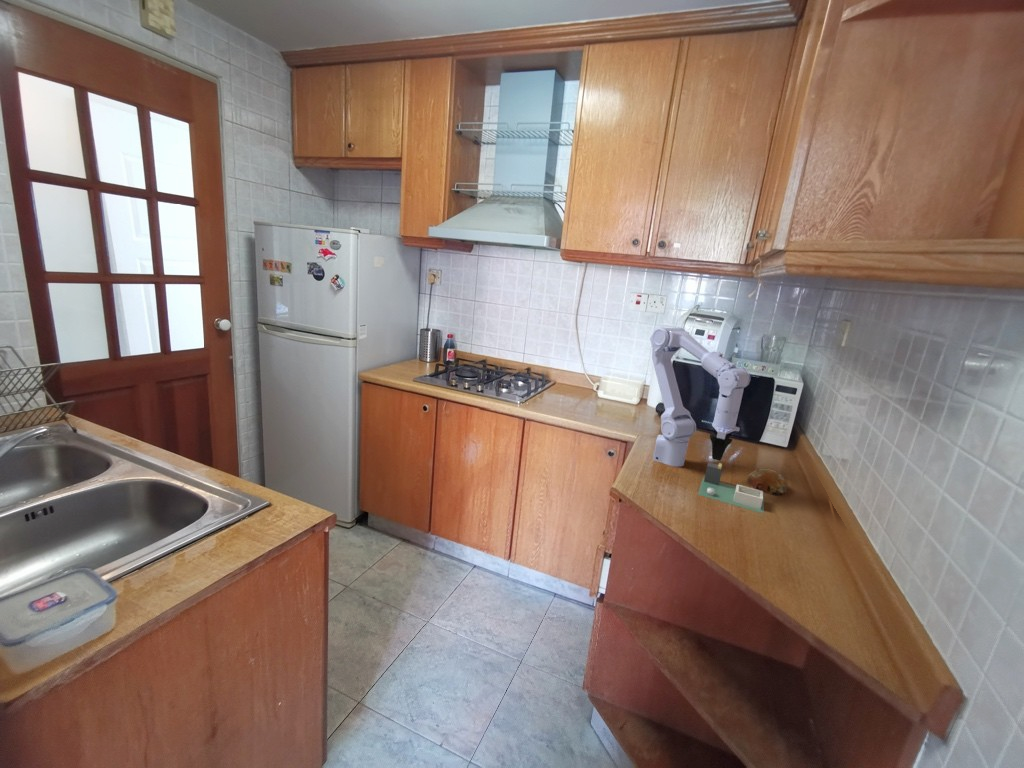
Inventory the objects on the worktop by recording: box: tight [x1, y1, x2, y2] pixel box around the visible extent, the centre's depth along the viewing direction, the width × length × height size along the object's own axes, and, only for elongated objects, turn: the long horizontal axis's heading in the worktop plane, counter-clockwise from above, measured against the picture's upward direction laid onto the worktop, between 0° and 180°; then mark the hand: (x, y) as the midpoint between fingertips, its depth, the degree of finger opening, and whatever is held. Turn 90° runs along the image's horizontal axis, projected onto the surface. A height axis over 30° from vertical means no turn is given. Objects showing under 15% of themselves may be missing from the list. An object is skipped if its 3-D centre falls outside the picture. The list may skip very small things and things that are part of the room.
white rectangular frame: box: [733, 483, 764, 509], centre depth 120 cm, size 6×5×3 cm
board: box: [697, 476, 765, 514], centre depth 123 cm, size 16×13×2 cm
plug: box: [704, 462, 724, 486], centre depth 130 cm, size 4×3×6 cm
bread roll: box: [746, 468, 787, 497], centre depth 130 cm, size 10×10×8 cm
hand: (717, 455), depth 128 cm, fingers open, 7 cm apart
